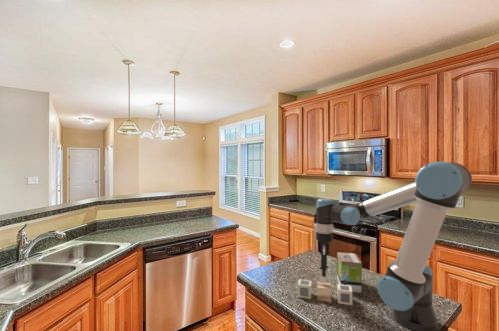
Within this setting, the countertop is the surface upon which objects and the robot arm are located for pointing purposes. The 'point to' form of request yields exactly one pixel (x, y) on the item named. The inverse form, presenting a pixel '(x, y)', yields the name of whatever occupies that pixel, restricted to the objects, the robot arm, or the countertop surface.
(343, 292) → the labelled block
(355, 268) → the tea box
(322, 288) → the plain block
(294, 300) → the countertop surface
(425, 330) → the robot arm
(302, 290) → the labelled block
